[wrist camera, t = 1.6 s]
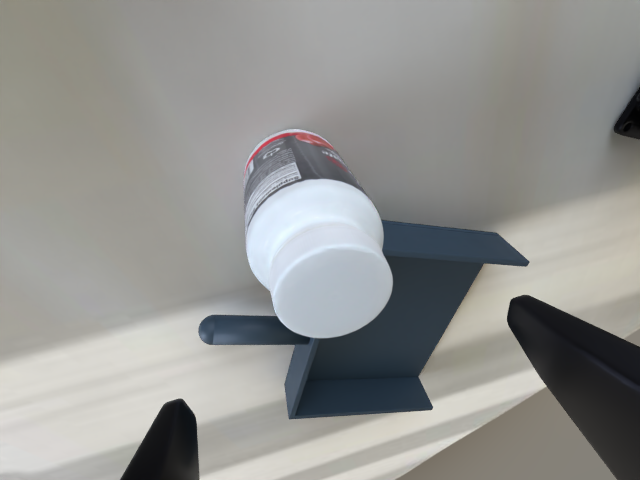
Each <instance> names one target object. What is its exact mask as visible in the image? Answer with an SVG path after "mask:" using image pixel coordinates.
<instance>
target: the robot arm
mask: <svg viewBox="0 0 640 480" xmlns="http://www.w3.org/2000/svg"><path fill="white" fill-rule="evenodd" d="M614 132H615V133H617V134H620V135H623V136H627V137H632V138H636V139H640V88H639V89H638V91H637V92H636V94H635V95H634V97H633V98H632V100H631V101H630V103H629V104H628V106H627V107H626V109H625V110H624V112H623V114H622V115H621V117H620V118H619V120H618V121H617V123H616V124H615V126H614ZM507 322H508V325H509V327H510V329H511V330H512V332H513V334H514V335H515V337H516V339H517V340H518V342H519V344H520V345H521V347H522V348H523V350H524V352H525V353H526V355H527V357H528V358H529V360H530V362H531V363H532V365H533V367H534V368H535V370H536V371H537V373H538V374H539V376H540V378H541V379H542V380H543V382H544V383H545V384H546V386H547V387H548V389H549V390H550V391H551V392H552V394H553V395H554V396H555V397H556V399H557V400H558V402H559V403H560V404H561V406H562V407H563V408H564V410H565V411H566V412H567V414H568V415H569V416H570V418H571V419H572V420H573V422H574V423H575V424H576V426H577V427H578V428H579V430H580V431H581V432H582V434H583V435H584V436H585V437H586V439H587V440H588V442H589V443H590V444H591V445H592V447H593V448H594V450H595V451H596V452H597V453H598V455H599V456H600V458H601V459H602V460H603V461H604V463H605V464H606V465H607V467H608V468H609V469H610V471H611V472H612V473H613V475H614V476H615V477H616V479H617V480H640V347H639V346H637V345H634V344H632V343H630V342H628V341H626V340H624V339H622V338H619V337H617V336H615V335H613V334H611V333H609V332H607V331H604V330H602V329H600V328H598V327H596V326H594V325H592V324H589V323H587V322H585V321H583V320H581V319H579V318H577V317H574V316H572V315H570V314H568V313H566V312H564V311H561V310H559V309H557V308H555V307H553V306H551V305H549V304H546V303H544V302H542V301H540V300H538V299H536V298H534V297H531V296H529V295H522V296H519V297H515V298H513V299H512V300H511V301H510V305H509V310H508V315H507ZM120 480H199V460H198V441H197V423H196V417H195V415H194V413H193V412H192V410H191V409H190V408H189V406H188V405H187V404H186V403H185V401H184V400H183V399H176V400H173V401H169V402H167V403H165V404H164V405H163V407H162V408H161V410H160V412H159V413H158V415H157V417H156V419H155V420H154V422H153V424H152V425H151V427H150V429H149V431H148V432H147V434H146V436H145V438H144V439H143V441H142V443H141V445H140V446H139V448H138V450H137V451H136V453H135V455H134V457H133V458H132V460H131V462H130V464H129V465H128V467H127V469H126V471H125V472H124V474H123V476H122V477H121V479H120Z"/></svg>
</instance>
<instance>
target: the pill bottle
mask: <svg viewBox="0 0 640 480" xmlns="http://www.w3.org/2000/svg"><path fill="white" fill-rule="evenodd" d="M244 203H245V231H246V251H247V257H248V261H249V264H250V267H251V269H252V271H253V273H254V275H255V276H256V278H257V279H258V280H259V281H260V282H261V283H262V284H263V285H264V286H265V287H266V288H267V289H268V290H270V292H271V296H272V302H273V307H274V310H275V313H276V315H277V317H278V318H279V319H280V321H281V322H282V323H283V324H284V325H285V326H286V327H287V328H289V329H290V330H292V331H293V332H295V333H297V334H300V335H303V336H307V337H312V338H332V337H338V336H343V335H346V334H348V333H351V332H354V331H356V330H358V329H360V328H362V327H363V326H365V325H367V324H368V323H369V322H371V321H372V320H373V319H374V318H375V317H376V316H377V315H378V314H379V313H380V312H381V311H382V310H383V309H384V307H385V305H386V304H387V302H388V300H389V298H390V296H391V293H392V287H393V277H392V273H391V270H390V267H389V265H388V263H387V261H386V259H385V257H384V255H383V252H382V248H383V240H384V232H383V226H382V222H381V218H380V216H379V214H378V212H377V210H376V208H375V206H374V204H373V203H372V201H371V199H370V198H369V197H368V196H367V194H366V193H365V192H364V190H363V189H362V187H361V186H360V184H359V183H358V182H357V180H356V179H355V177H354V176H353V174H352V173H351V171H350V170H349V169H348V167H347V166H346V164H345V163H344V161H343V160H342V158H341V157H340V155H339V154H338V153H337V151H336V150H335V149H334V148H333V146H332V145H331V144H330V143H329V142H328V141H326V140H325V139H324V138H322V137H321V136H319V135H317V134H315V133H312V132H309V131H305V130H298V129H291V130H284V131H281V132H278V133H275V134H273V135H271V136H268V137H267V138H265V139H264V140H262V141H261V142H260V143H259V144H258V145H257V146H256V147H255V149H254V150H253V151H252V153H251V154H250V156H249V158H248V160H247V163H246V166H245V170H244Z"/></svg>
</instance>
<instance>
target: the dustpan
mask: <svg viewBox="0 0 640 480" xmlns="http://www.w3.org/2000/svg"><path fill="white" fill-rule="evenodd" d="M381 222H382V226H383V232H384V240H383V248H382V252H383V255H384V257H385V259H386V261H387V263H388V265H389V267H390V270H391V273H392V277H393V287H392V293H391V296H390V298H389V300H388V302H387V304H386V305H385V307H384V309H383V310H382V311H381V312H380V313H379V314H378V315H377V316H376V317H375V318H374V319H373V320H372V321H371V322H369V323H368V324H367V325H365V326H363V327H362V328H360V329H358V330H356V331H354V332H351V333H348V334H346V335H343V336H338V337H332V338H312V337H307V336H303V335H300V334H297V333H295V332H293V331H292V330H290V329H289V328H287V327H286V326H285V325H284V324H283V323H282V322H281V321H280V319H279V318H278V317H277V316H244V315H211V316H208V317H206V318H205V319H204V320H203V321H202V322H201V323H200V326H199V336H200V338H201V340H202V341H203V342H205V343H206V344H209V345H295V348H294V352H293V355H292V359H291V363H290V366H289V370H288V373H287V377H286V381H285V384H284V385H285V393H286V400H287V408H288V416H289V419H301V418H317V417H332V416H348V415H363V414H379V413H394V412H410V411H425V410H432V409H433V406H432V404H431V402H430V400H429V398H428V396H427V394H426V392H425V390H424V388H423V386H422V384H421V382H420V380H419V377H418V376H419V374H420V373H421V371H422V369H423V368H424V366H425V364H426V362H427V361H428V359H429V357H430V356H431V354H432V352H433V350H434V349H435V347H436V345H437V343H438V342H439V340H440V338H441V337H442V335H443V333H444V331H445V330H446V328H447V326H448V325H449V323H450V321H451V319H452V318H453V316H454V314H455V313H456V311H457V309H458V307H459V306H460V304H461V302H462V300H463V299H464V297H465V295H466V294H467V292H468V290H469V288H470V287H471V285H472V283H473V282H474V280H475V278H476V276H477V275H478V273H479V271H480V270H481V268H482V266H483V264H484V263H487V264H500V265H513V266H525V267H526V266H527V265H528V264H529V261H528V260H527V259H526V258H525V257H524V256H523V255H521V254H520V253H519V252H518V251H517V250H516V249H515V248H513V247H512V246H511V245H510V244H509V243H508V242H507V241H505V240H504V239H503V238H502V237H501V236H500V235H499V234H497V233H493V232H484V231H475V230H466V229H456V228H447V227H438V226H429V225H420V224H411V223H402V222H393V221H384V220H381Z"/></svg>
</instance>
